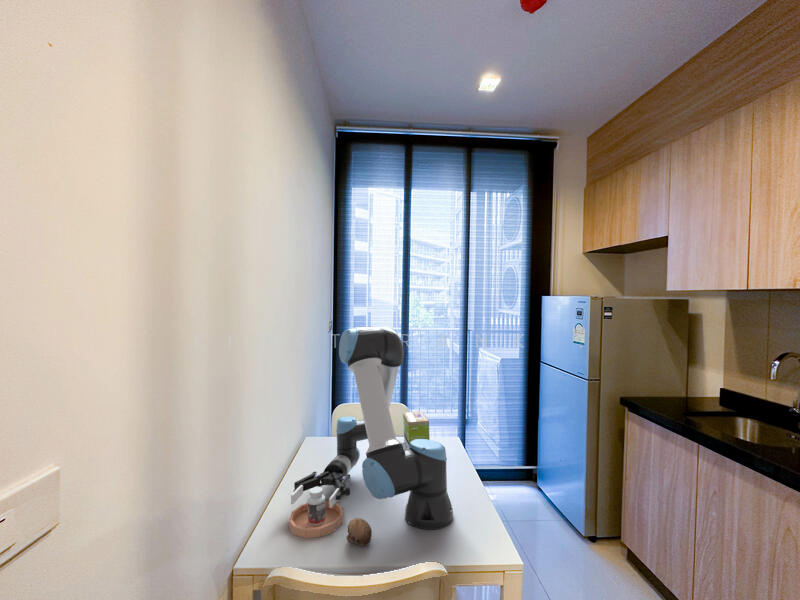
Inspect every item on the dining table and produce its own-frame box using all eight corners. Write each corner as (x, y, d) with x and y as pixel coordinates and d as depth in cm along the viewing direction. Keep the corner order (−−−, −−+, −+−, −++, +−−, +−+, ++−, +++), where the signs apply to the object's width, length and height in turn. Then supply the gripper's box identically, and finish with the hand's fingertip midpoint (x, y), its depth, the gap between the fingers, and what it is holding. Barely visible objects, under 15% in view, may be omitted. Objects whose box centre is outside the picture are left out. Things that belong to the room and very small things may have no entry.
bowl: (351, 524, 113) (351, 516, 114) (301, 544, 104) (301, 536, 104) (329, 502, 126) (329, 495, 127) (282, 518, 117) (282, 511, 117)
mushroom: (335, 531, 105) (348, 514, 105) (353, 529, 111) (365, 512, 111) (350, 557, 99) (364, 538, 99) (368, 552, 106) (381, 535, 106)
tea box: (403, 442, 182) (402, 412, 182) (423, 440, 183) (422, 410, 183) (408, 454, 167) (408, 421, 167) (430, 452, 168) (429, 419, 168)
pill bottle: (304, 522, 114) (303, 490, 114) (319, 514, 118) (318, 483, 118) (314, 528, 111) (313, 496, 111) (329, 520, 114) (328, 489, 115)
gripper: (369, 483, 131) (348, 517, 109) (306, 477, 135) (275, 510, 114) (369, 461, 131) (348, 492, 109) (306, 457, 136) (274, 485, 114)
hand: (310, 501), depth 112 cm, fingers open, 12 cm apart
